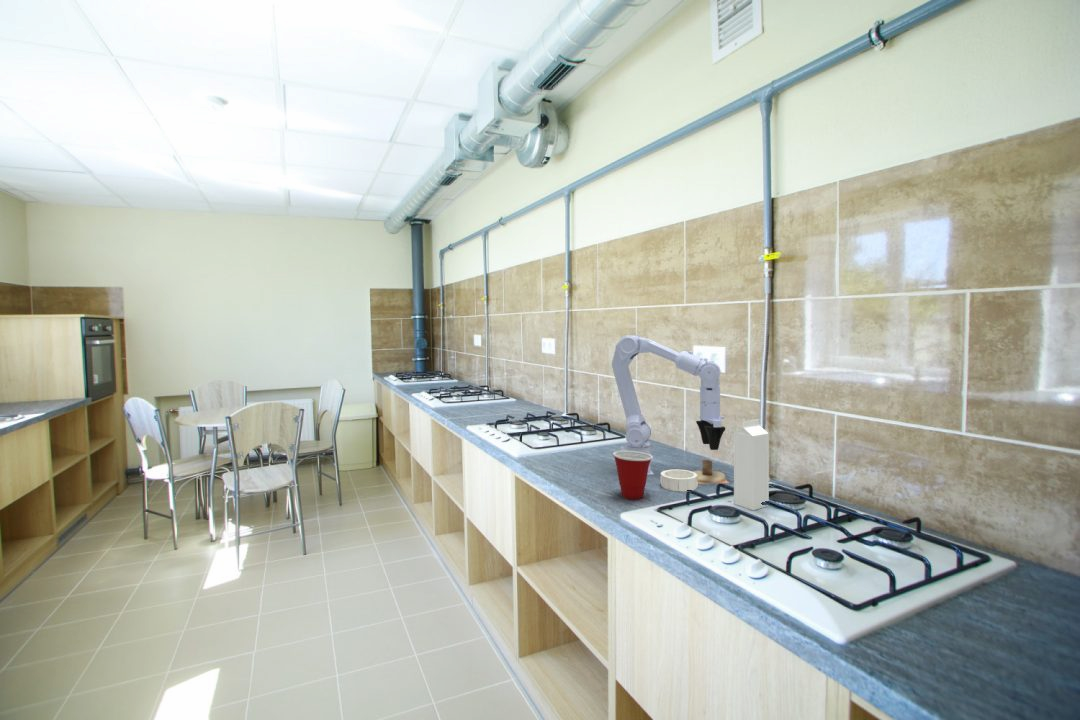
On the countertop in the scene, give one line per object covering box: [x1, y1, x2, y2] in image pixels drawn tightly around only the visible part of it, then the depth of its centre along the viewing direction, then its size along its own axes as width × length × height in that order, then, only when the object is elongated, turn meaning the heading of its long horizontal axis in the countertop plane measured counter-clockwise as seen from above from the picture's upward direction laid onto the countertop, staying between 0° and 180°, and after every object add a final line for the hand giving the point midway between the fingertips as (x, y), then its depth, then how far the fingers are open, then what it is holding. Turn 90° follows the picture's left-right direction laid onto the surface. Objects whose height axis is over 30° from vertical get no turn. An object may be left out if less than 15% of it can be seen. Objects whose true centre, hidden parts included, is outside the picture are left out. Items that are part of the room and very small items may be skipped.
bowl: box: [660, 468, 699, 492], centre depth 147 cm, size 10×10×4 cm
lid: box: [692, 459, 726, 484], centre depth 153 cm, size 10×10×5 cm
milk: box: [733, 419, 770, 511], centre depth 131 cm, size 6×6×22 cm
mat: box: [698, 478, 730, 485], centre depth 153 cm, size 10×10×1 cm
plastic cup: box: [612, 450, 654, 501], centre depth 140 cm, size 11×11×12 cm
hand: (710, 446), depth 154 cm, fingers open, 7 cm apart
